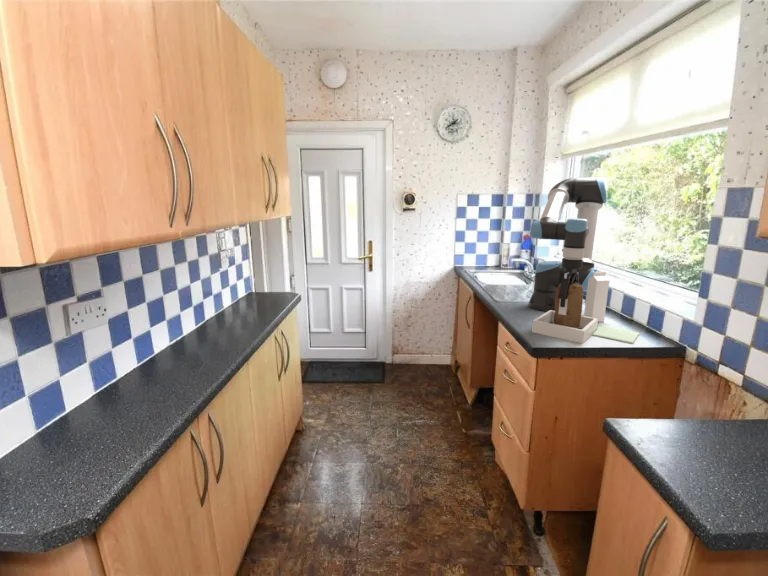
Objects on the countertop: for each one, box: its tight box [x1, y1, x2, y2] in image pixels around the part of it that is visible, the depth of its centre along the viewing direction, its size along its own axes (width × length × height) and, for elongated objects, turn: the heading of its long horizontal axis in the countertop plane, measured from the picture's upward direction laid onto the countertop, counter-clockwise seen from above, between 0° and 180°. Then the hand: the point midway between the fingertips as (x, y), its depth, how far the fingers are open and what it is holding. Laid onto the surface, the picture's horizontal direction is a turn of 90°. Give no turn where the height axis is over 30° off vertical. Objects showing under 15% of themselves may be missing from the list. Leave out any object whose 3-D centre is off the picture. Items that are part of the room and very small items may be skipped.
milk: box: [583, 271, 610, 323], centre depth 174 cm, size 6×6×22 cm
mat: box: [591, 325, 640, 344], centre depth 157 cm, size 14×14×1 cm
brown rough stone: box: [553, 282, 584, 329], centre depth 159 cm, size 11×8×20 cm
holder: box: [531, 310, 598, 344], centre depth 160 cm, size 20×19×5 cm
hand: (566, 311), depth 159 cm, fingers closed on brown rough stone, 11 cm apart
